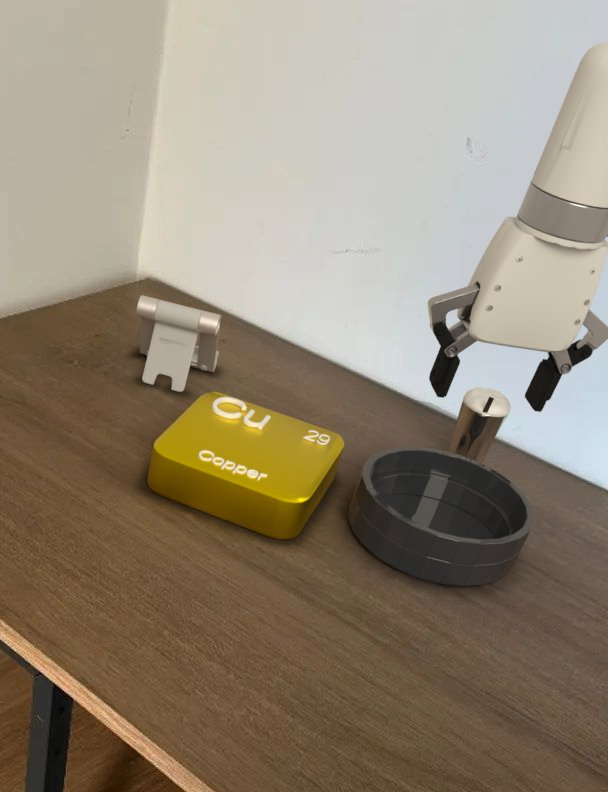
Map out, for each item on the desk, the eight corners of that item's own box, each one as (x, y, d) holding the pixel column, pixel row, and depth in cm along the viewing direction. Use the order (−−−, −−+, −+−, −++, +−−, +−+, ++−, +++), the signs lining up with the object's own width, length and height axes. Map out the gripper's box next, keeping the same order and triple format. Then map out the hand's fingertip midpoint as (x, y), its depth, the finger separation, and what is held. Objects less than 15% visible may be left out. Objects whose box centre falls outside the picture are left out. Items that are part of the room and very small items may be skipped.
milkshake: (430, 480, 97) (467, 390, 90) (438, 457, 101) (474, 369, 94) (475, 494, 96) (515, 404, 89) (481, 470, 100) (520, 382, 93)
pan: (484, 500, 95) (504, 457, 92) (534, 598, 84) (559, 552, 81) (333, 483, 94) (348, 438, 91) (364, 580, 82) (382, 532, 79)
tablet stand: (215, 369, 109) (230, 297, 104) (200, 398, 103) (215, 323, 98) (143, 350, 110) (154, 278, 105) (124, 377, 104) (135, 302, 99)
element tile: (138, 489, 88) (146, 443, 85) (200, 424, 99) (209, 382, 96) (291, 547, 84) (305, 501, 81) (338, 474, 95) (352, 431, 92)
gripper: (642, 216, 85) (555, 392, 97) (456, 185, 83) (390, 367, 95) (679, 247, 80) (582, 429, 91) (481, 214, 78) (408, 404, 89)
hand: (485, 397), depth 93 cm, fingers open, 9 cm apart
